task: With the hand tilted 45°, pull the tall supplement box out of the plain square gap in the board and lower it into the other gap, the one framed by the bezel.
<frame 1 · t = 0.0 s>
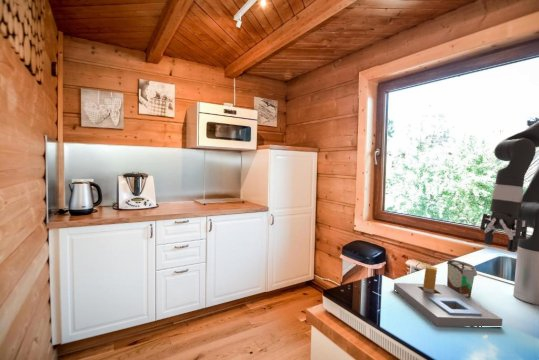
hand: (499, 247, 91), 17 cm above the table, tool pointing down, fingers open, 8 cm apart
food container: (462, 294, 94), on the table
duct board: (441, 306, 83), on the table
supplement box: (428, 298, 89), resting in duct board
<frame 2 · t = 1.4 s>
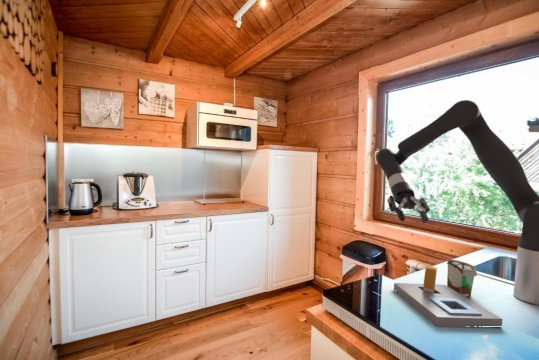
hand: (414, 221, 99), 23 cm above the table, tool tilted 45°, fingers open, 8 cm apart
nothing on the table moved.
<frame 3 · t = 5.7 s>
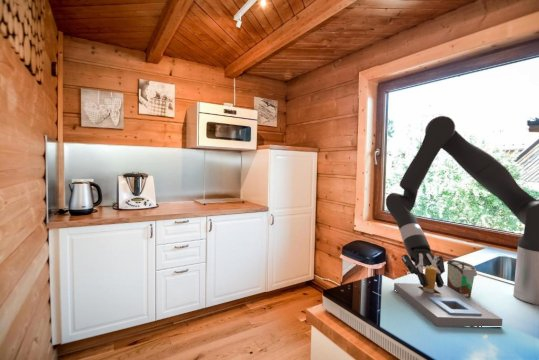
hand: (433, 286, 87), 5 cm above the table, tool tilted 45°, fingers closed on supplement box, 4 cm apart
supplement box: (428, 298, 89), resting in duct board, touching gripper
everything else where it was.
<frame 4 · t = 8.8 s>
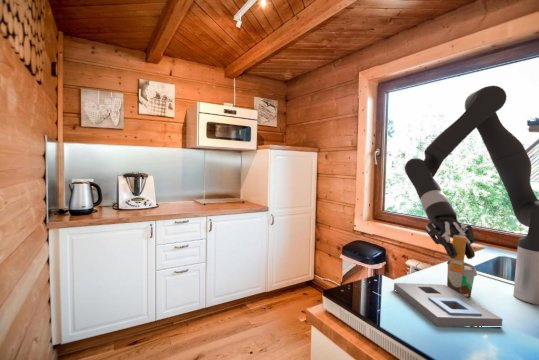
hand: (462, 257, 76), 17 cm above the table, tool tilted 45°, fingers closed on supplement box, 4 cm apart
supplement box: (456, 271, 78), point 13 cm above the table, touching gripper
everything else where it was.
when the fingers open (6 cm above the table, at t = 11.7 s): supplement box drops 1 cm, resting in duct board.
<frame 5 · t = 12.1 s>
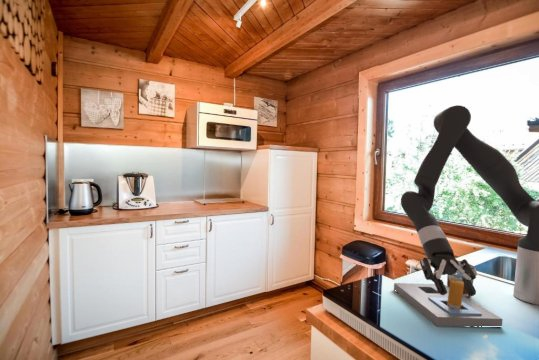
hand: (458, 294, 77), 7 cm above the table, tool tilted 45°, fingers open, 8 cm apart
supplement box: (453, 315, 79), resting in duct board
everything else where it was.
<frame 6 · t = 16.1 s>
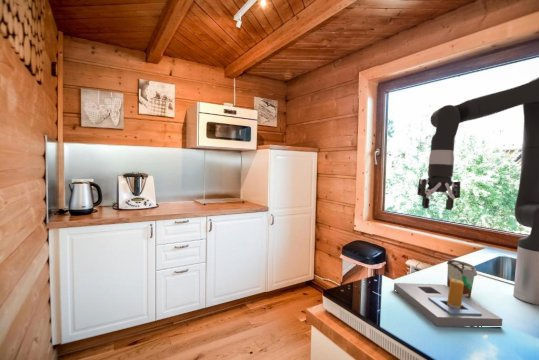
hand: (437, 209, 98), 28 cm above the table, tool pointing down, fingers open, 8 cm apart
nothing on the table moved.
at the end: supplement box 0.4 cm from the target spot on the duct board, point 0.0 cm above the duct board's base; supplement box tilted 0°; the gripper is holding nothing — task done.
